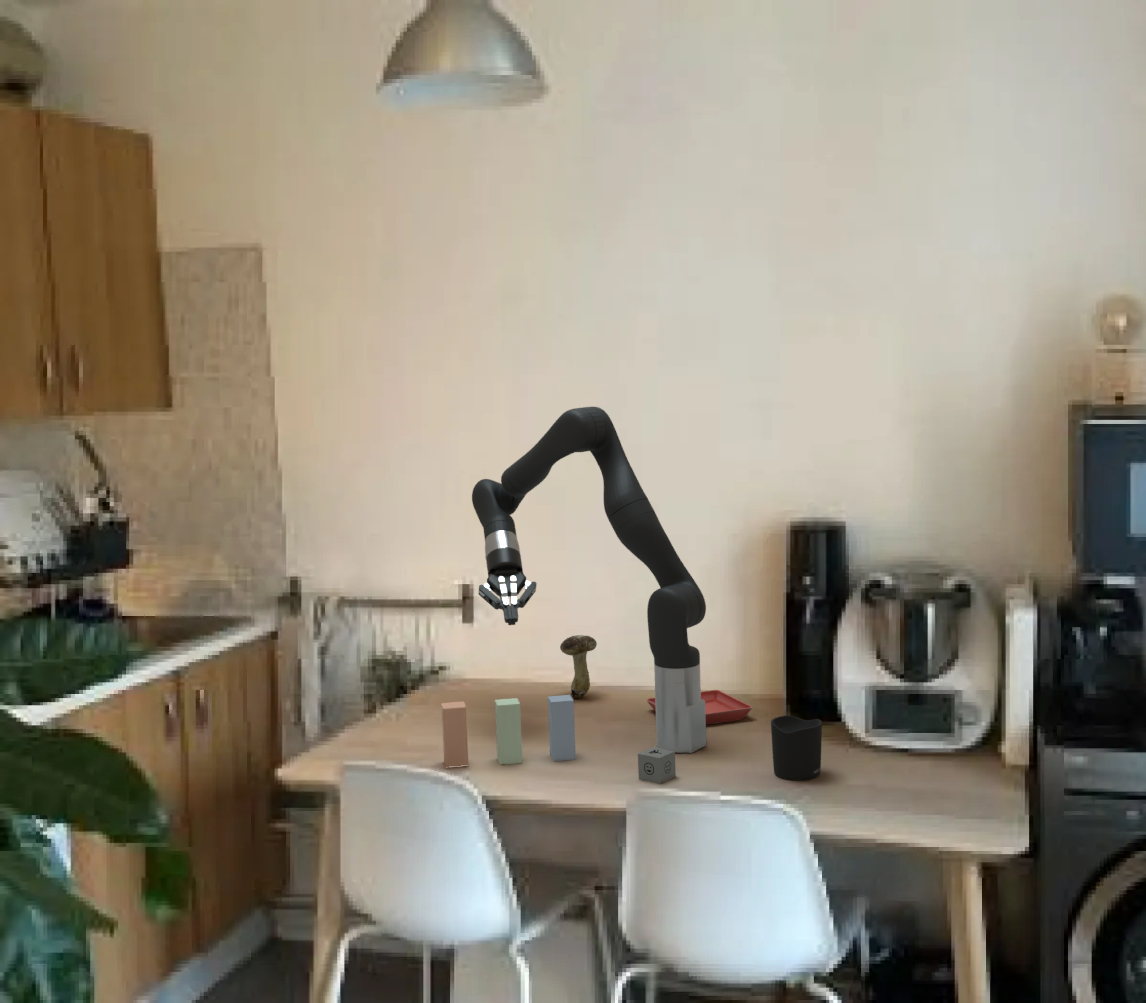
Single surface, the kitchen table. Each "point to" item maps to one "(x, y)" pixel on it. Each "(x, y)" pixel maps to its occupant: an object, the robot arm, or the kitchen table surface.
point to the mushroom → (579, 662)
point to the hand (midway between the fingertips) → (512, 622)
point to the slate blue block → (561, 727)
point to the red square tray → (719, 707)
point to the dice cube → (656, 765)
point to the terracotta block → (454, 734)
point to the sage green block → (508, 731)
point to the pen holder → (796, 747)
